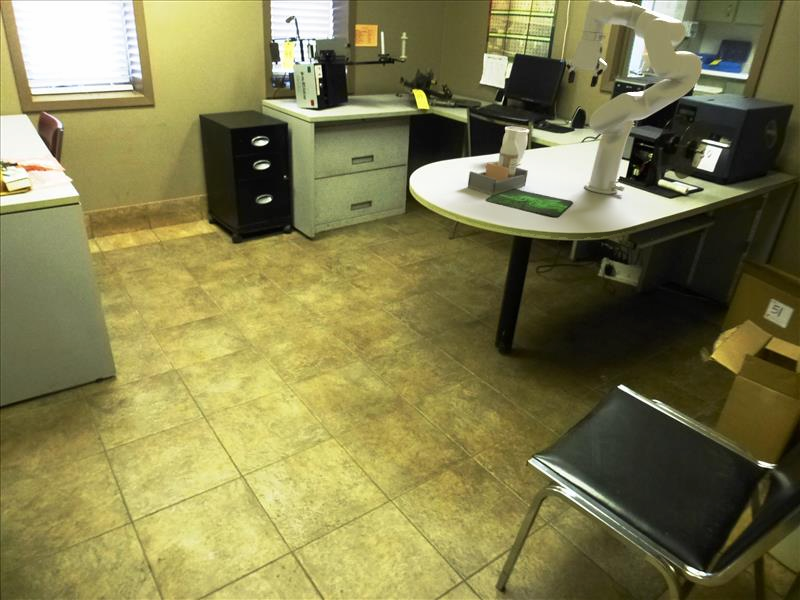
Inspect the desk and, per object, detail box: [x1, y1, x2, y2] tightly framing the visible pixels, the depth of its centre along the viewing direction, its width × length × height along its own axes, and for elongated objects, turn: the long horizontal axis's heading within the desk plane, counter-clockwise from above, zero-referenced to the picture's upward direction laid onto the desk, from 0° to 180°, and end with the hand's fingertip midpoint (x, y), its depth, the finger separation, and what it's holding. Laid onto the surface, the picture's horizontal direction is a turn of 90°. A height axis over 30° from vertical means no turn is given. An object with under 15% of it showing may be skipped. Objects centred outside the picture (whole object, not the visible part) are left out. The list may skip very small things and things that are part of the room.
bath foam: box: [497, 129, 519, 179], centre depth 218 cm, size 7×7×20 cm
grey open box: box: [467, 166, 528, 196], centre depth 219 cm, size 12×22×6 cm, turn 136°
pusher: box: [485, 162, 509, 182], centre depth 215 cm, size 9×5×7 cm, turn 46°
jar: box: [501, 126, 530, 166], centre depth 250 cm, size 11×10×15 cm
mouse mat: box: [484, 188, 574, 218], centre depth 206 cm, size 27×22×1 cm
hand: (581, 84), depth 225 cm, fingers open, 9 cm apart
